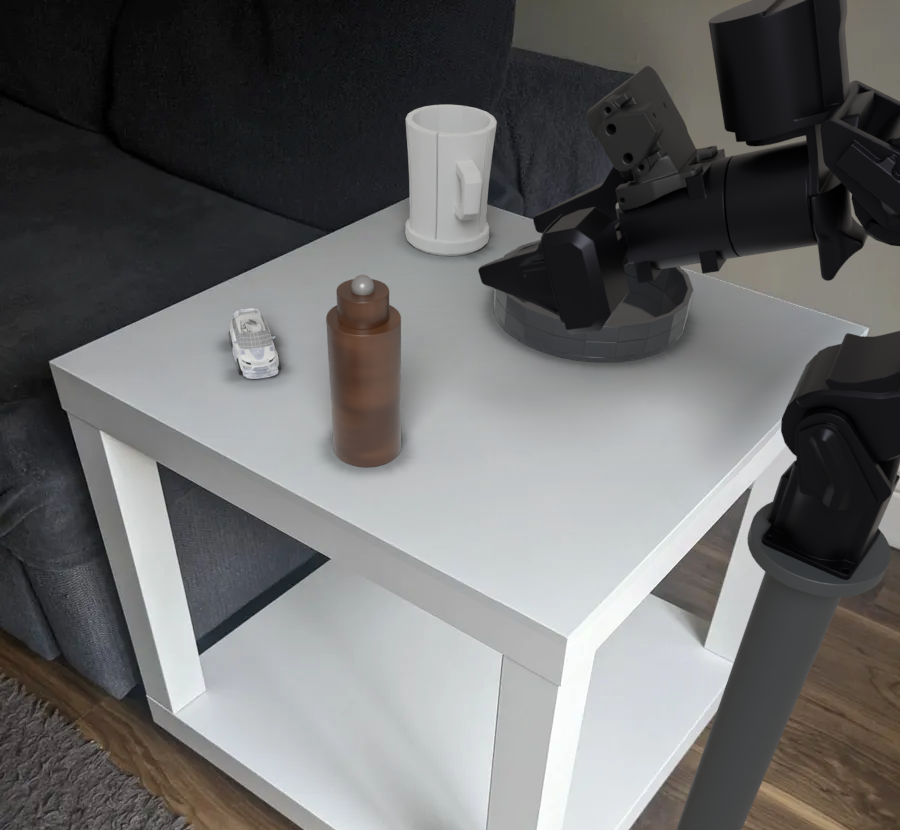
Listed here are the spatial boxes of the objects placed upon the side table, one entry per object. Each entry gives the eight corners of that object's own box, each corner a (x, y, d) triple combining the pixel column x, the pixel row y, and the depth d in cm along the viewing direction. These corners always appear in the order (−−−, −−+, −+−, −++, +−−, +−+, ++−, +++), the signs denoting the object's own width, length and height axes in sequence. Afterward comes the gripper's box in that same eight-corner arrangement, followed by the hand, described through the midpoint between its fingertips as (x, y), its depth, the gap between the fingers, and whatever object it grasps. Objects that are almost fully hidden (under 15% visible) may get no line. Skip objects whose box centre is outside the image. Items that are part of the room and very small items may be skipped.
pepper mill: (414, 444, 77) (416, 274, 67) (371, 476, 74) (367, 302, 64) (363, 420, 79) (358, 252, 69) (319, 450, 76) (307, 278, 66)
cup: (518, 241, 104) (528, 121, 96) (469, 271, 99) (475, 147, 90) (438, 214, 108) (441, 97, 100) (386, 242, 103) (385, 120, 95)
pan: (717, 308, 95) (725, 273, 93) (625, 385, 84) (631, 348, 82) (558, 253, 102) (562, 220, 100) (455, 318, 92) (457, 282, 89)
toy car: (240, 385, 82) (236, 352, 80) (227, 338, 88) (223, 306, 86) (284, 379, 83) (281, 347, 81) (268, 333, 89) (265, 302, 86)
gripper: (755, 22, 61) (530, 85, 69) (665, 109, 49) (405, 173, 57) (779, 204, 67) (569, 241, 75) (704, 322, 54) (463, 351, 63)
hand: (509, 248), depth 67 cm, fingers open, 9 cm apart
